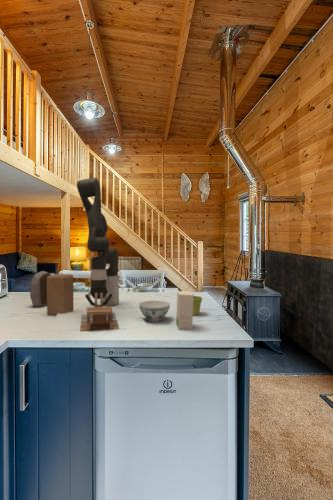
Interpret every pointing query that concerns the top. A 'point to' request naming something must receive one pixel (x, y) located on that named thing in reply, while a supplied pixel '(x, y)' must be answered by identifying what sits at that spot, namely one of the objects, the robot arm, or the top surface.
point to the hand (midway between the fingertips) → (98, 313)
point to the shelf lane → (111, 323)
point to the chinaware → (154, 309)
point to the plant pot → (196, 304)
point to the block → (59, 293)
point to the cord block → (99, 318)
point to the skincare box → (184, 309)
